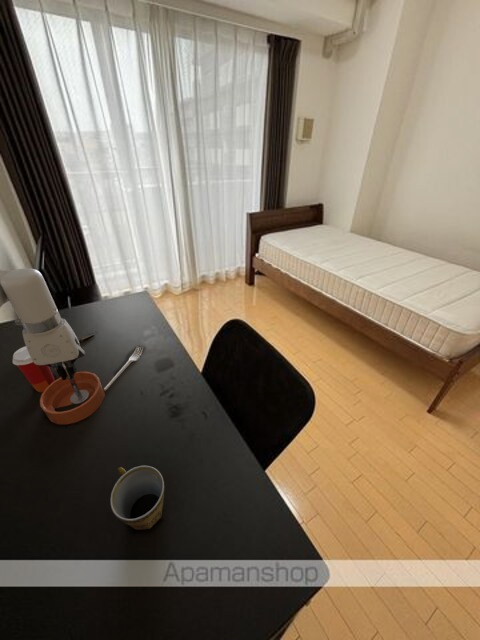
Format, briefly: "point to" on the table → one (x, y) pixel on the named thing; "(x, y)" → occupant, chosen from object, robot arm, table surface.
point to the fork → (126, 366)
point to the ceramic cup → (137, 495)
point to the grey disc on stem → (76, 390)
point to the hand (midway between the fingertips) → (69, 375)
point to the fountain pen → (86, 338)
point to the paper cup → (33, 370)
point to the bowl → (62, 392)
